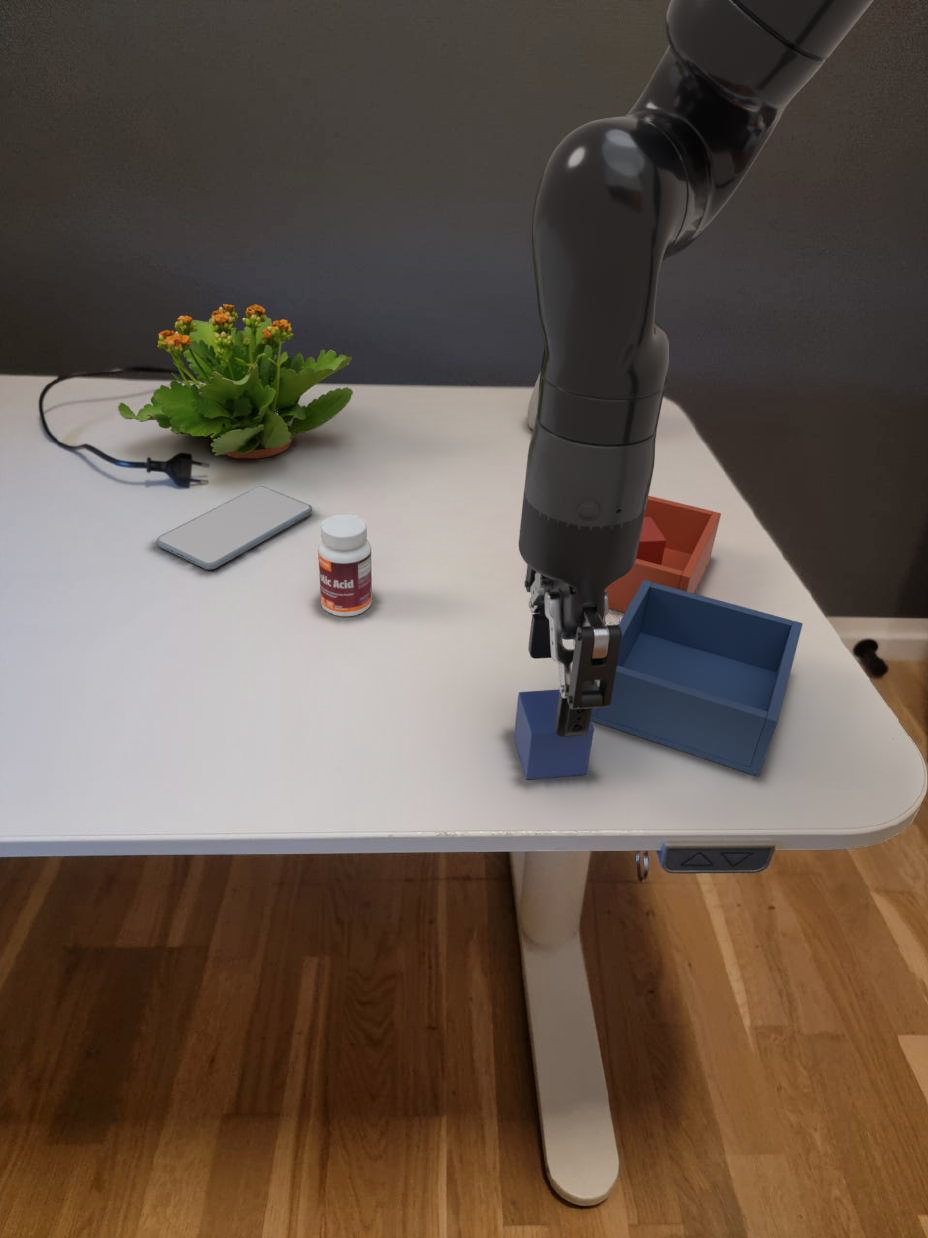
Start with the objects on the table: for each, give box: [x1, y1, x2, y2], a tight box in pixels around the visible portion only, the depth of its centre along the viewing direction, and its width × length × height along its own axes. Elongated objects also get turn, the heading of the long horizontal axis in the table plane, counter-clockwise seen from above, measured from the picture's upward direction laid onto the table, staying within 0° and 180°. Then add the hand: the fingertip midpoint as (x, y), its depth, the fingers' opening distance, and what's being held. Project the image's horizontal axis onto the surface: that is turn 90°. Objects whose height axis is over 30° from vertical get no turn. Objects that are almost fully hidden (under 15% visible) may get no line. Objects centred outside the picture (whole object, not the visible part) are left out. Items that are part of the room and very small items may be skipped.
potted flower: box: [117, 303, 354, 460], centre depth 103 cm, size 25×24×18 cm
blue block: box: [513, 688, 595, 780], centre depth 64 cm, size 5×5×5 cm
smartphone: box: [156, 485, 313, 570], centre depth 90 cm, size 8×1×15 cm
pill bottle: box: [317, 513, 373, 617], centre depth 78 cm, size 5×5×8 cm
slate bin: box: [590, 580, 803, 777], centre depth 70 cm, size 14×14×6 cm
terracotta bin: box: [605, 495, 722, 613], centre depth 85 cm, size 14×14×6 cm
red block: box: [636, 517, 666, 565], centre depth 85 cm, size 5×5×5 cm
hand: (555, 691), depth 62 cm, fingers open, 8 cm apart
